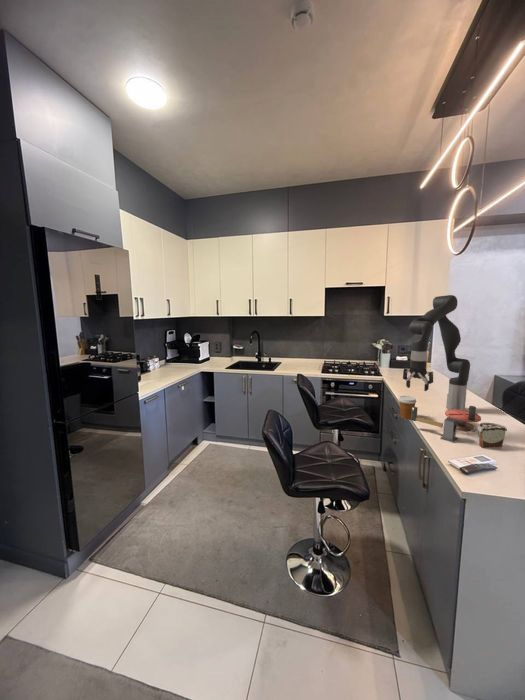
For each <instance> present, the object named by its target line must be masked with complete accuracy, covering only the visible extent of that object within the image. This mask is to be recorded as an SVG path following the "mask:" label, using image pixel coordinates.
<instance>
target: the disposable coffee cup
mask: <svg viewBox="0 0 525 700" xmlns="http://www.w3.org/2000/svg"><path fill="white" fill-rule="evenodd" d="M398 401H399V411H400V412H399V413H400V418H401V419H403V420H404V419H405V420H411V411H412V407H416V403H417V399H416V397H414V396H410V395H400V396H399V398H398Z"/></svg>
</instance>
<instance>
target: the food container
mask: <svg viewBox="0 0 525 700" xmlns="http://www.w3.org/2000/svg"><path fill="white" fill-rule="evenodd" d="M477 431H478V434H479V435H478V436H479V437H478V438H479V440H478V442H479V447H480V448H482V449H495V448H496V449H497V448H498V449H499V448H501V449H502V448H503V446H504V440H505V437H506V436H505V435H506V432H508V428H507V426H505V425H502V424H499V423H493V422H481V423H478V425H477Z"/></svg>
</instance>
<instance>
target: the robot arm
mask: <svg viewBox="0 0 525 700" xmlns="http://www.w3.org/2000/svg"><path fill="white" fill-rule="evenodd" d="M432 307H433V308H432V309H430V310H428V311H427V312H425V313H424V314H423V315H422V316H420V317H417V318H416V319H414V320H412V321H411V322H410V323H409V325H408V331H409V333H410V334H412V335H421V337H420V338H415V339H412V341H411V353H410V363H409V364H410V367H409V368H408V367H405V368H403V374H402V380H405V381H406V383H405V385H406V388H408V389H409V388H411V379H413V378H414V379H420V380H422V381H423V382H424V387H423V389H424V392H427V391H428V390H429V388H430V387H429V386H430V385H431V384H433V383H434V372H433V371H427V365H428V364H427V363H428V343H429V340H430V336H431V334H432V331H433V326H434V325H436V323H438V326H439V330H440V331H439V332H440V337H441V339H442V344H443V347H444V353H445V359H446V360H445V361H446V366H447V367H446V368H447V370H448V371H449V372H451V373H454V374H455V373H456V374H458V376H456V377H451V378H449V379H448V393H447V394H446V407H445V409H447V410H453V409H456V410H464V411H466V401H467V399H466V398H467V389H468V381H469V375H470V372H471V371H470V370H471V362H470V360H469V359H466V358H461V357H456V350H457V348H458V347H459V345H460V343H461V339H462V338H461V334H460V330H459V327H458V326H457V325H456V324H455V323H454V322H453V321H451V320H450V319H449V318H448V316H447V315H448V314H450V313H452V312H454V311H455V310H456V309H457V307H458V299H457V296H455V295H452V294H448V295H440V296H439V295H438V296H434V298H433V299H432ZM408 373H409V374H410V375H409V376H408ZM427 376H428V377H427ZM447 410H446V411H447Z"/></svg>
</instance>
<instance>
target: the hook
mask: <svg viewBox="0 0 525 700" xmlns="http://www.w3.org/2000/svg"><path fill="white" fill-rule="evenodd" d="M410 420H411V421H412V422H413V421H414V422H419V423H423V424H427V425H431V426H435V427H437V428H438V427H439V428H444V422H439V421H435V420H431V419H426V418H422V417H419V416H418V407H417V406H415V407H412V411H411V419H410Z"/></svg>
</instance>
